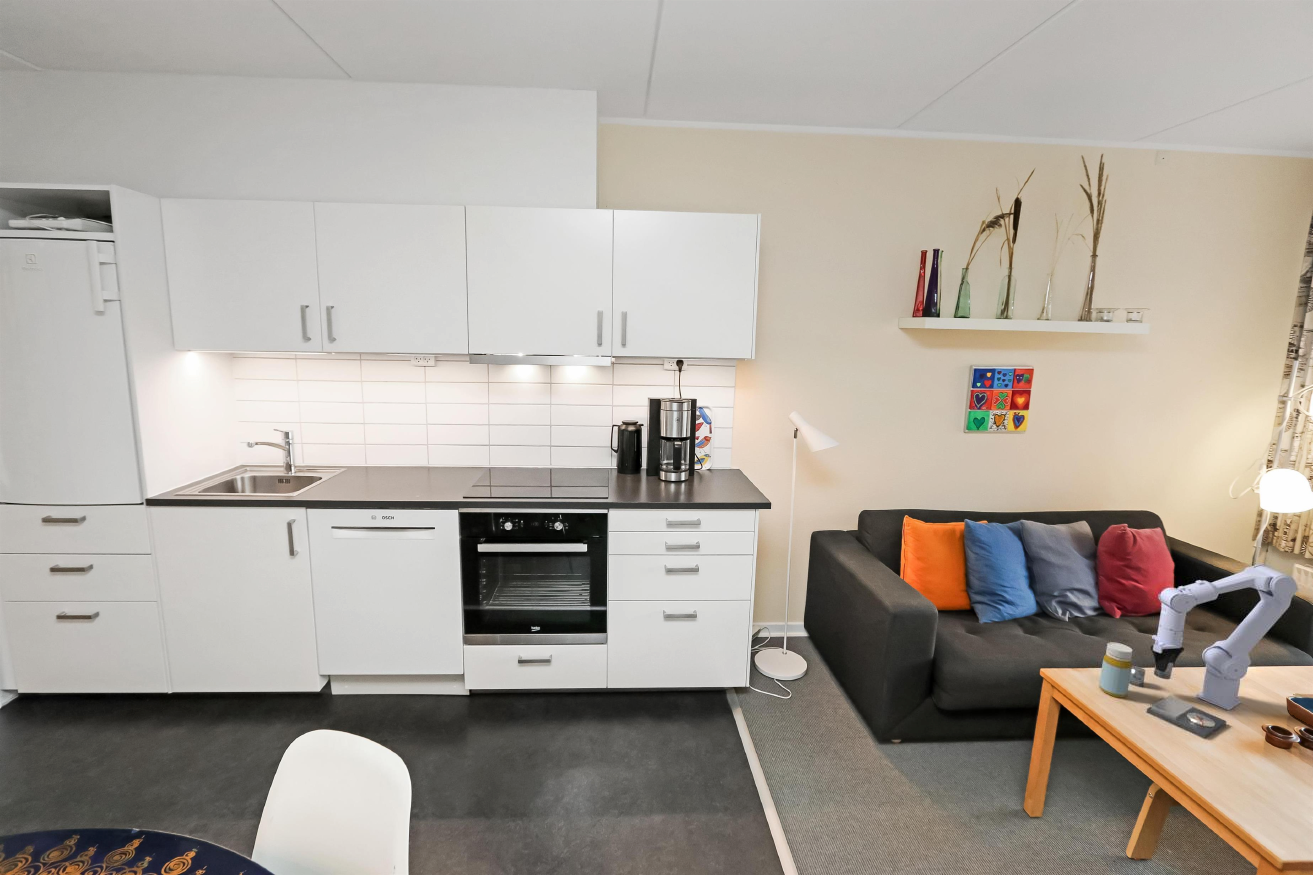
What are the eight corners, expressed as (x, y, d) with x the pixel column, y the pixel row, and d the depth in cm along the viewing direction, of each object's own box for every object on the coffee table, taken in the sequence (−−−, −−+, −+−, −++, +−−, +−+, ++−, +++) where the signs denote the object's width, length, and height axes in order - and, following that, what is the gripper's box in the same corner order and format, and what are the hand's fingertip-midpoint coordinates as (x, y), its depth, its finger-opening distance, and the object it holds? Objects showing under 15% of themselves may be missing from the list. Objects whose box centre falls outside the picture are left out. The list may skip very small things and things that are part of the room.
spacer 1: (1130, 678, 196) (1133, 664, 195) (1145, 684, 192) (1147, 670, 192) (1124, 681, 194) (1127, 667, 193) (1139, 687, 191) (1141, 673, 190)
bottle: (1098, 683, 192) (1105, 639, 190) (1126, 691, 188) (1133, 646, 186) (1098, 692, 187) (1106, 647, 185) (1127, 701, 183) (1134, 655, 181)
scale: (1168, 700, 184) (1169, 693, 184) (1225, 724, 172) (1227, 717, 172) (1146, 712, 177) (1147, 705, 177) (1204, 738, 166) (1206, 731, 165)
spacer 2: (1157, 671, 190) (1159, 656, 189) (1172, 677, 186) (1175, 662, 185) (1151, 674, 188) (1154, 659, 187) (1167, 680, 184) (1169, 665, 183)
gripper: (1165, 617, 191) (1159, 657, 193) (1144, 626, 184) (1137, 667, 186) (1193, 626, 185) (1186, 667, 187) (1172, 636, 178) (1165, 679, 180)
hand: (1163, 668), depth 186 cm, fingers closed on spacer 2, 4 cm apart
